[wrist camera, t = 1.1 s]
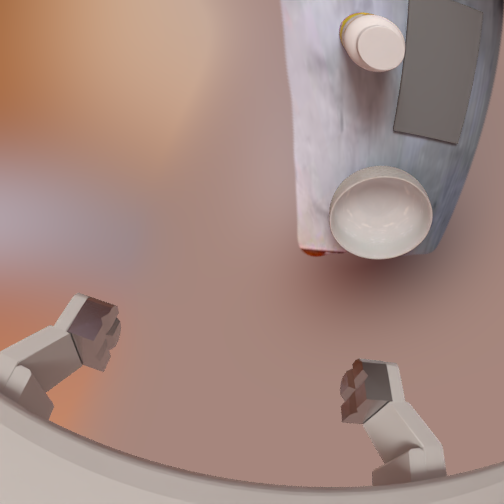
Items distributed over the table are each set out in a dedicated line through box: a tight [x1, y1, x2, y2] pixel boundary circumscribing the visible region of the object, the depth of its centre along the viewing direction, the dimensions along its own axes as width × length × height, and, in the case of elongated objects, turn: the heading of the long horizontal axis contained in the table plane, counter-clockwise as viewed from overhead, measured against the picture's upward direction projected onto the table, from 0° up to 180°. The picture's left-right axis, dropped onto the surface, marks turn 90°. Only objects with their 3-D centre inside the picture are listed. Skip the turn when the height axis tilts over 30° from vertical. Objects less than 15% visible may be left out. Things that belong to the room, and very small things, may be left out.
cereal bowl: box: [329, 166, 432, 259], centre depth 47 cm, size 17×17×7 cm
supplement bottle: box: [339, 12, 405, 72], centre depth 27 cm, size 7×7×13 cm
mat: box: [393, 0, 483, 144], centre depth 31 cm, size 22×11×1 cm, turn 3°
